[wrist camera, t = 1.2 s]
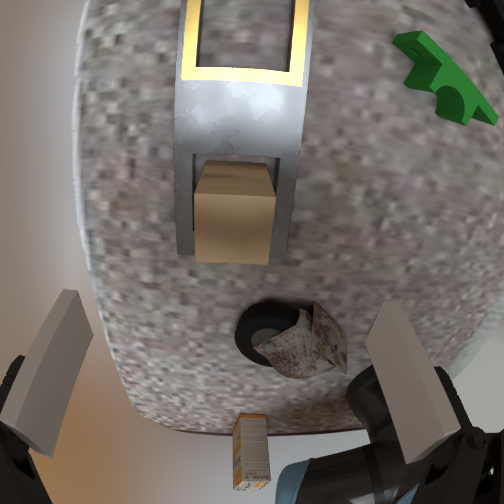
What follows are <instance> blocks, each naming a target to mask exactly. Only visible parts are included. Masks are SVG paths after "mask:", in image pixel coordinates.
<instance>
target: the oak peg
mask: <svg viewBox="0 0 504 504" xmlns="http://www.w3.org/2000/svg"><path fill="white" fill-rule="evenodd" d="M275 201H276V196H275V193H274V189H273V186H272V183H271V180H270V177H269V173H268V170H267V167H266V164H265V163H252V162H234V161H206V163H205V166H204V169H203V171H202V174H201V177H200V179H199V182H198V185H197V187H196V190H195V193H194V223H195V262H207V263H231V264H257V265H268V260H269V252H270V244H271V235H272V227H273V219H274V210H275Z"/></svg>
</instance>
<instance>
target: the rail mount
mask: <svg viewBox="0 0 504 504" xmlns="http://www.w3.org/2000/svg"><path fill="white" fill-rule="evenodd" d="M465 1H466V2H467V4H468V6H469V7H470V8H472V7H479V6H481V8H482V9H483V11H484V13H485V14H486V16H487V18H488V20H489V22H490V23H491V25H492V27H493V29H494V31H495V33H496V35H497V37H498V39H499V41H500V43H496V44H494V43H492V44H490V45H491V47H492V49H493V51H494V53H495V55H496V58H497V60H498V62H499V64H500V66H501V69H502V71H503V73H504V0H465Z"/></svg>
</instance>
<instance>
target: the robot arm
mask: <svg viewBox="0 0 504 504" xmlns="http://www.w3.org/2000/svg"><path fill="white" fill-rule="evenodd" d="M92 337H93V332H92V330H91V327H90V325H89V322H88V319H87V316H86V314H85V311H84V308H83V305H82V302H81V299H80V296H79V293H78V291H77V290H67V289H63V291H62V292H61V294H60V296H59V297H58V299H57V301H56V302H55V304H54V306H53V307H52V309H51V311H50V312H49V314H48V316H47V318H46V320H45V321H44V323H43V325H42V327H41V329H40V330H39V332H38V334H37V336H36V338H35V340H34V342H33V343H32V346H31V347H30V349H29V351H28V353H27V355H26V357H25V356H22V355H19V356H18V357H17V358H16V359H15V360H14V361H13V362H12V363H11V365H10V367H9V369H8V371H7V373H6V376H5V377H4V379H3V382H2V383H3V384H1V386H0V504H53V503H52V502H51V500H50V498H49V496H48V494H47V491H46V489H45V487H44V485H43V483H42V481H41V479H40V477H39V474H38V472H37V470H36V467H35V465H34V463H33V460H32V457H31V455H30V454H29V452H28V450H29V447H30V448H32V449H33V450H34V451H35V452H37V453H39V454H42V455H44V456H47V457H50V458H53V454H54V450H55V446H56V442H57V439H58V435H59V432H60V428H61V425H62V421H63V418H64V415H65V412H66V409H67V405H68V403H69V400H70V397H71V394H72V391H73V388H74V385H75V382H76V379H77V376H78V374H79V371H80V368H81V365H82V363H83V360H84V358H85V355H86V352H87V350H88V347H89V345H90V342H91V340H92ZM365 345H366V348H367V350H368V353H369V356H370V358H371V361H372V364H373V366H372V367H370V368H368V369H367V370H365V371H364V372H362V373H361V374H360V375H359V376H358V377H356V378H355V379H354V380H353V382H352V383H351V384H350V386H349V387H348V389H347V393H346V395H347V399H348V403H349V406H350V408H351V410H352V411H353V412H354V414H355V415H356V417H357V418H358V419H359V421H360V422H361V423H362V425H363V426H364V427H365V429H366V430H367V432H368V435H369V439H370V444H368V445H364V446H361V447H358V448H355V449H351V450H347V451H343V452H339V453H336V454H332V455H328V456H323V457H319V458H310V459H309V460H306V461H302V462H298V463H293V464H290V465H288V466H286V467H285V468H284V469H283V470H282V472H281V474H280V476H279V479H278V483H277V488H276V499H275V504H504V429H503V430H502V431H501V432H499V433H485V432H484V431H483V430H482V429H480V428H479V427H473V426H472V424H471V422H470V420H469V418H468V416H467V413H466V411H465V409H464V407H463V404H462V402H461V400H460V398H459V396H458V395H457V392H456V389H455V387H453V383H452V381H451V379H450V377H449V375H448V374H447V373H446V372H445V371H444V370H443V369H442V368H441V367H440V366H438V367H433V365H432V363H431V361H430V359H429V357H428V355H427V353H426V351H425V349H424V347H423V346H422V344H421V342H420V340H419V338H418V336H417V334H416V332H415V330H414V329H413V327H412V325H411V323H410V321H409V320H408V318H407V316H406V314H405V312H404V311H403V309H402V307H401V305H400V304H399V302H398V301H384V302H383V304H382V306H381V309H380V311H379V313H378V316H377V318H376V320H375V322H374V325H373V327H372V329H371V331H370V333H369V335H368V338H367V340H366V342H365ZM492 468H493V474H492V475H491V472H490V470H491V469H492Z"/></svg>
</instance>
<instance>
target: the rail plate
mask: <svg viewBox="0 0 504 504" xmlns="http://www.w3.org/2000/svg"><path fill="white" fill-rule="evenodd" d="M203 5H204V0H182V1H181V11H180V21H179V33H178V46H177V62H176V81H175V110H174V186H175V216H176V237H177V254H179V255H195V223H194V193H195V154H229V155H248V156H264V157H277V158H278V159H277V168H276V178H275V187H274V193H275V196H276V201H275V210H274V219H273V227H272V235H271V244H270V252H269V258H278V259H285V254H286V248H287V241H288V234H289V228H290V221H291V214H292V207H293V200H294V192H295V185H296V178H297V170H298V162H299V154H300V146H301V138H302V130H303V121H304V113H305V104H306V95H307V85H308V76H309V66H310V55H311V44H312V33H313V21H314V8H315V0H292V11H291V23H290V35H289V46H288V57H287V68H286V72H280V71H271V70H259V69H245V68H222V67H199V52H200V39H201V27H202V15H203Z"/></svg>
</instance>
